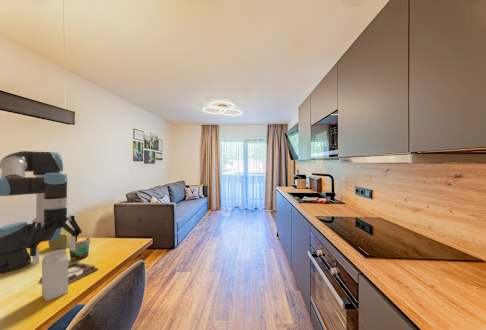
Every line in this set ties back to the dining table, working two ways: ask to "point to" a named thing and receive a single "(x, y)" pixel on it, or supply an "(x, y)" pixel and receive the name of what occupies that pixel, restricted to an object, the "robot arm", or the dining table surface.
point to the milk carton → (54, 274)
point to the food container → (80, 250)
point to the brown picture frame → (78, 271)
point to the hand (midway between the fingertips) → (55, 256)
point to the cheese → (60, 241)
